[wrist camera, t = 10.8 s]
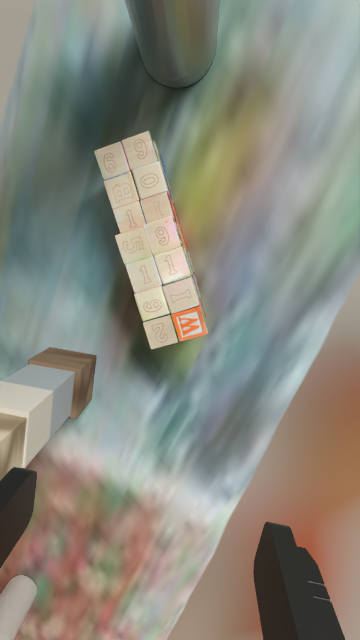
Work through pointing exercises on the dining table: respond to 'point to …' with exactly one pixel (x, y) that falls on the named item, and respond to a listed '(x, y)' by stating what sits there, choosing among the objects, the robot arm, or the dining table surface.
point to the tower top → (29, 414)
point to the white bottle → (15, 605)
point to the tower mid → (52, 381)
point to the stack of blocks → (152, 241)
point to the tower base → (75, 363)
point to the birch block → (11, 442)
